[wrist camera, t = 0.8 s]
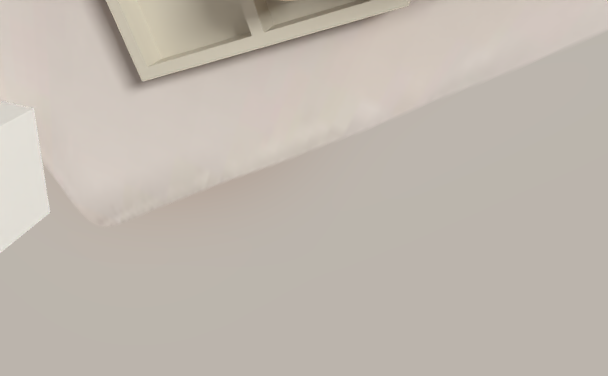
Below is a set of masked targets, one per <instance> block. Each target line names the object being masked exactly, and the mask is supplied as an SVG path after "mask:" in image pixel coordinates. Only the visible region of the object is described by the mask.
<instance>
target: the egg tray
mask: <svg viewBox="0 0 608 376" xmlns="http://www.w3.org/2000/svg"><path fill="white" fill-rule="evenodd" d="M106 2H107V4H108V6H109V9H110V11H111V13H112V15H113V18H114V20H115V22H116V24H117V27H118V29H119V31H120V33H121V35H122V38H123V40H124V42H125V44H126V47H127V49H128V51H129V53H130V56H131V58H132V60H133V62H134V64H135V67H136V69H137V71H138V73H139V76H140V78H141V80H142V82H143V81H147V80H150V79H154V78H157V77H161V76H164V75H168V74H171V73H175V72H178V71H182V70H186V69H189V68H193V67H196V66H200V65H203V64H207V63H210V62H214V61H217V60H221V59H224V58H228V57H231V56H235V55H238V54H242V53H245V52H249V51H252V50H256V49H259V48H263V47H266V46H270V45H273V44H277V43H280V42H284V41H287V40H291V39H294V38H298V37H301V36H305V35H308V34H312V33H315V32H319V31H322V30H326V29H329V28H333V27H336V26H340V25H343V24H347V23H350V22H354V21H357V20H361V19H364V18H368V17H371V16H375V15H378V14H382V13H385V12H389V11H393V10H396V9H400V8H403V7H407V6H409V4H410V2H411V0H294V1H280V0H106Z"/></svg>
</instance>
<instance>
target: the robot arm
mask: <svg viewBox="0 0 608 376" xmlns="http://www.w3.org/2000/svg"><path fill="white" fill-rule="evenodd" d="M49 213H50V208H49V202H48V195H47V189H46V182H45V176H44V171H43V163H42V157H41V150H40V144H39V138H38V131H37V125H36V118H35V112H34V108H31V107H26V106H22V105H18V104H13V103H9V102H5V101H2V102H0V253H1V252H2V251H3V250H4V249H6V248H7V247H8V246H10V245H11V244H12V243H13V242H15V241H16V240H17V239H18V238H20V237H21V236H22V235H23V234H24V233H26V232H27V231H28V230H29V229H31V228H32V227H33V226H34V225H36V224H37V223H38V222H39V221H41V220H42V219H43V218H44V217H45V216H47V215H48V214H49Z"/></svg>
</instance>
